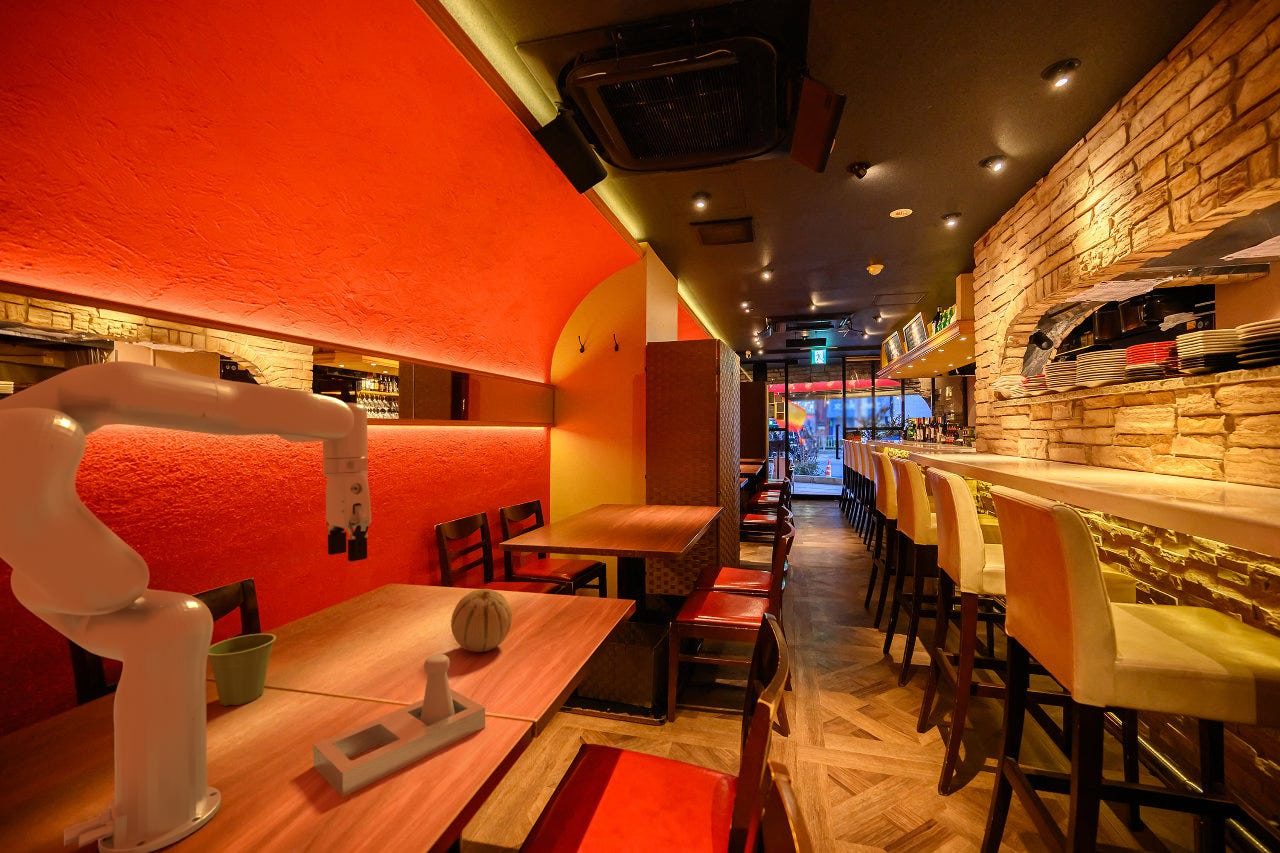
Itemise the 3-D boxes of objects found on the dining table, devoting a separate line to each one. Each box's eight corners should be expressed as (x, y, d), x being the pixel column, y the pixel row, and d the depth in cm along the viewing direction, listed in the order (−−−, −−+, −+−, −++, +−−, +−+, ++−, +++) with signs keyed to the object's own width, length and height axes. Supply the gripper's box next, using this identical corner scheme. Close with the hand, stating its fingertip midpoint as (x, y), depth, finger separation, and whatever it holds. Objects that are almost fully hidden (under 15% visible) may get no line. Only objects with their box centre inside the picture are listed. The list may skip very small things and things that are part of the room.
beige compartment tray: (342, 797, 78) (342, 773, 78) (313, 766, 86) (313, 744, 86) (485, 727, 96) (485, 707, 96) (450, 706, 104) (450, 688, 104)
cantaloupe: (481, 634, 142) (480, 578, 143) (524, 643, 136) (523, 584, 136) (437, 655, 129) (436, 593, 130) (482, 666, 122) (481, 600, 123)
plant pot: (290, 687, 114) (289, 634, 114) (235, 716, 103) (234, 657, 103) (248, 682, 117) (247, 630, 117) (190, 709, 106) (189, 652, 106)
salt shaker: (443, 740, 92) (441, 665, 93) (413, 737, 94) (412, 663, 94) (460, 722, 98) (459, 651, 98) (432, 720, 99) (431, 649, 99)
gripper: (385, 466, 99) (387, 558, 99) (348, 465, 111) (349, 548, 110) (342, 469, 94) (344, 567, 93) (308, 467, 105) (309, 554, 105)
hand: (347, 556), depth 102 cm, fingers open, 9 cm apart
